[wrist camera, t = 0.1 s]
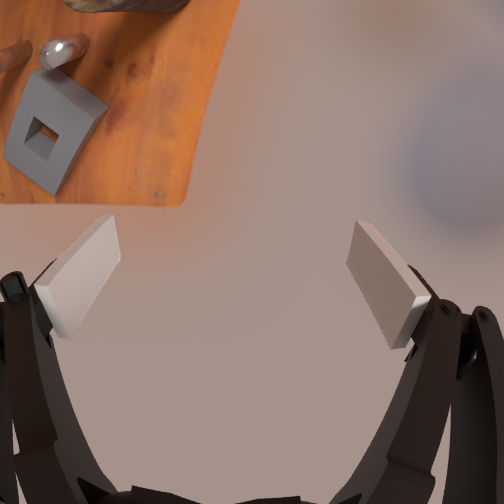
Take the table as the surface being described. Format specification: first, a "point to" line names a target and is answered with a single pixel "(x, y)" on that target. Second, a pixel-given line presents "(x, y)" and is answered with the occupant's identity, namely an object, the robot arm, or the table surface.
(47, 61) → the short pin
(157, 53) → the table surface
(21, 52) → the long pin
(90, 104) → the guide block
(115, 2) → the brown textured cylinder
